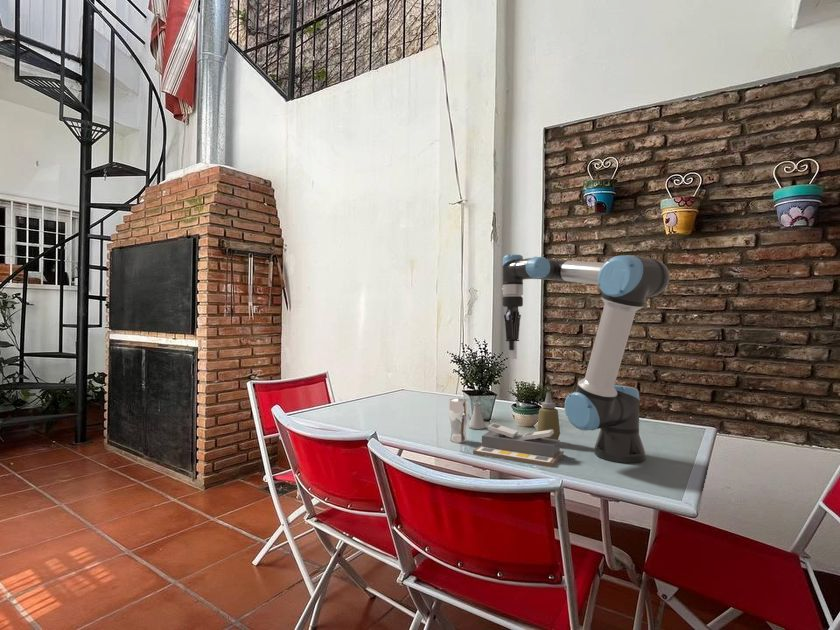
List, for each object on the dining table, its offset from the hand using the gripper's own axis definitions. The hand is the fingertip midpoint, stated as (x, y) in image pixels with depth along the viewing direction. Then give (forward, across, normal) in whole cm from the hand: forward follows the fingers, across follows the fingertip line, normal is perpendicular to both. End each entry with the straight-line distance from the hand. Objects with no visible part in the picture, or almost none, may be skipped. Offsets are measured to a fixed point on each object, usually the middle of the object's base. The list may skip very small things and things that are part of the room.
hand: (512, 358), depth 173 cm
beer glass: (+30, +16, -15) cm, 37 cm away
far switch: (+23, +19, +3) cm, 29 cm away
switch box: (+29, +21, +9) cm, 37 cm away
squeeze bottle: (+30, +2, +14) cm, 33 cm away
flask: (+30, -6, -17) cm, 35 cm away
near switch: (+23, +19, +15) cm, 33 cm away
